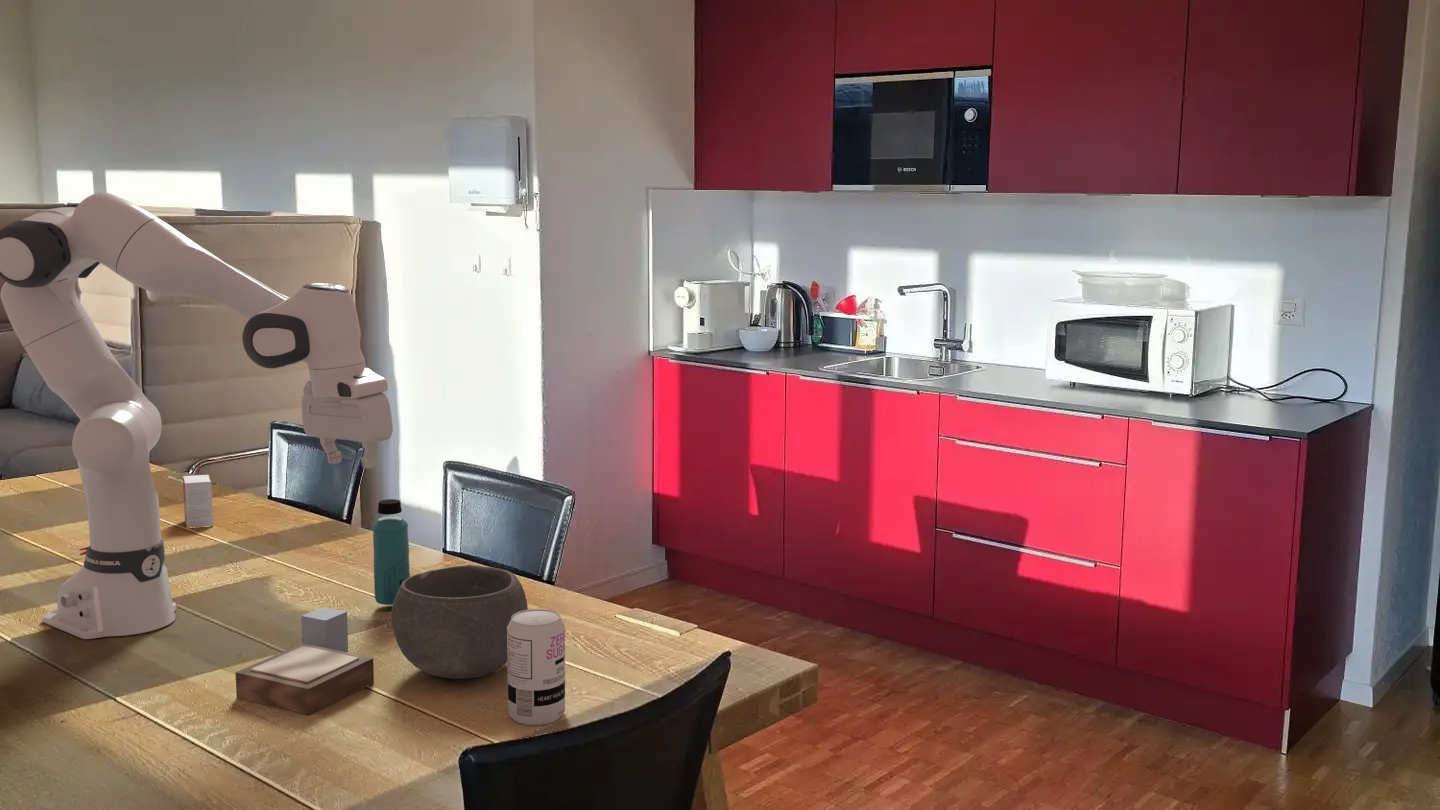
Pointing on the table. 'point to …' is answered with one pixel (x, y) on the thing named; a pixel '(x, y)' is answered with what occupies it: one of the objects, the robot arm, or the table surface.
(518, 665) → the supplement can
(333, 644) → the block
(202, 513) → the small box
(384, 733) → the table surface
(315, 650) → the base
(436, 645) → the bowl
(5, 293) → the robot arm
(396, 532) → the beverage bottle
